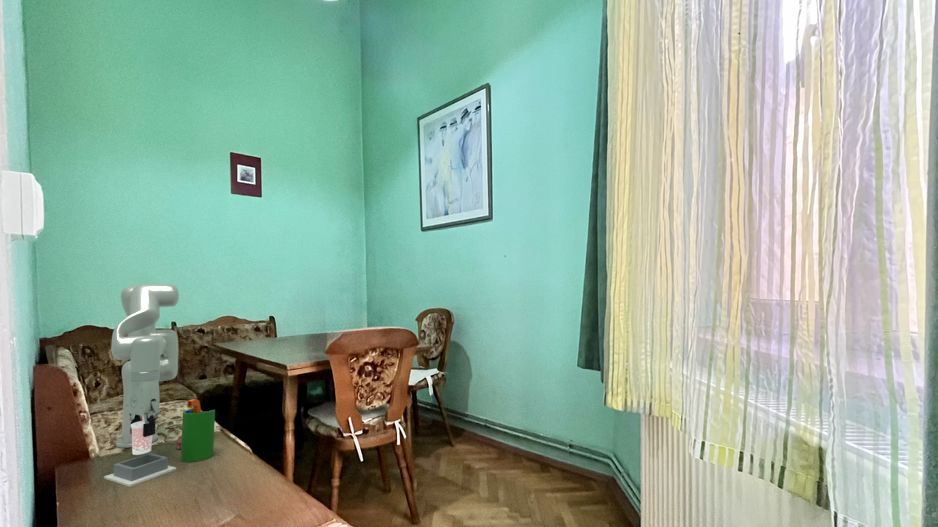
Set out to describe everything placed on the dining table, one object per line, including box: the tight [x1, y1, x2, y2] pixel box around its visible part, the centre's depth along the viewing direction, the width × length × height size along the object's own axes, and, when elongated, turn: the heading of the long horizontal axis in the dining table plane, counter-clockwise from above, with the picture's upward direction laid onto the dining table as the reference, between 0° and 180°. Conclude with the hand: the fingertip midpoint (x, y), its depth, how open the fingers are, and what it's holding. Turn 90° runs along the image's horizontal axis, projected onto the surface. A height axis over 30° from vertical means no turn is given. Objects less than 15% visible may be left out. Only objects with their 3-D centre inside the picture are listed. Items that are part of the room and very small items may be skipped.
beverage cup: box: [131, 415, 153, 456], centre depth 131 cm, size 6×6×14 cm
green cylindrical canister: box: [180, 398, 216, 463], centre depth 145 cm, size 10×9×20 cm
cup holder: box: [103, 452, 177, 488], centre depth 131 cm, size 14×13×4 cm
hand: (142, 433), depth 131 cm, fingers closed on beverage cup, 6 cm apart
